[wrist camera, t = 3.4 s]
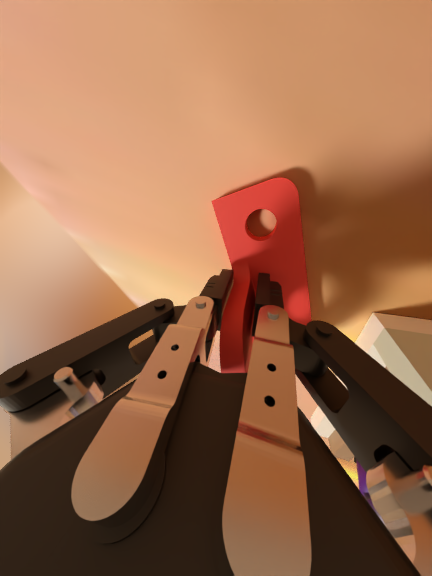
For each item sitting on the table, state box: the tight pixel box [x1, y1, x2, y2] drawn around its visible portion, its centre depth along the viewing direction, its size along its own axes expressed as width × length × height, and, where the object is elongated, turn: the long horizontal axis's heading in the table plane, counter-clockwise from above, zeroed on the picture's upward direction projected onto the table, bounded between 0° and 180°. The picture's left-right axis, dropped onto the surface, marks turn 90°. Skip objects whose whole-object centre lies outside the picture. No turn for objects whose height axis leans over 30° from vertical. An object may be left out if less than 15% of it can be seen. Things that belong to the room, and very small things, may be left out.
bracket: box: [212, 177, 311, 373], centre depth 10 cm, size 12×4×8 cm, turn 19°
